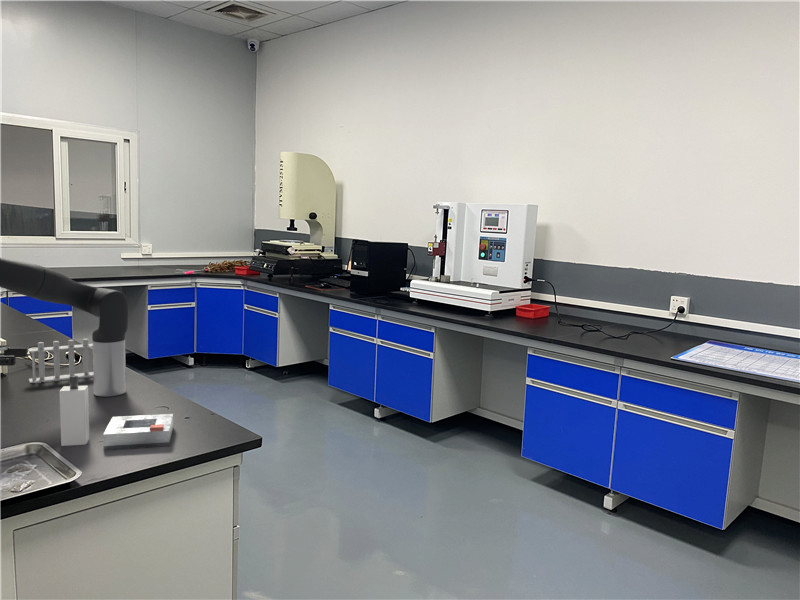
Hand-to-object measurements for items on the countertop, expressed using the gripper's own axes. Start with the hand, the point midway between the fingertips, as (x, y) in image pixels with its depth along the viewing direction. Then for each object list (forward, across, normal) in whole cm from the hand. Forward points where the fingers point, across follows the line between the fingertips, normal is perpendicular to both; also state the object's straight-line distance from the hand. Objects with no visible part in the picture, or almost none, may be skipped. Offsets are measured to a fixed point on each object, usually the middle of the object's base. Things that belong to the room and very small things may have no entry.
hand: (21, 356), depth 143 cm
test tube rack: (-3, +62, +22) cm, 66 cm away
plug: (+11, 0, +22) cm, 25 cm away
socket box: (+26, 0, +22) cm, 34 cm away
